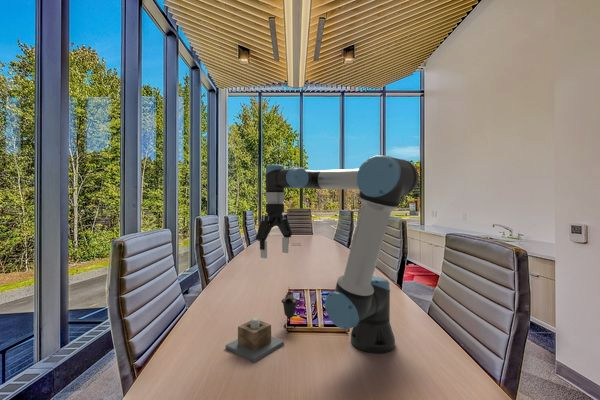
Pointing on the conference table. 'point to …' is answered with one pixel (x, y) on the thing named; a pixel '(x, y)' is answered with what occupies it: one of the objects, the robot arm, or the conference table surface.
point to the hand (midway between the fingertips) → (275, 255)
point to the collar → (254, 335)
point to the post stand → (258, 353)
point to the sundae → (289, 305)
